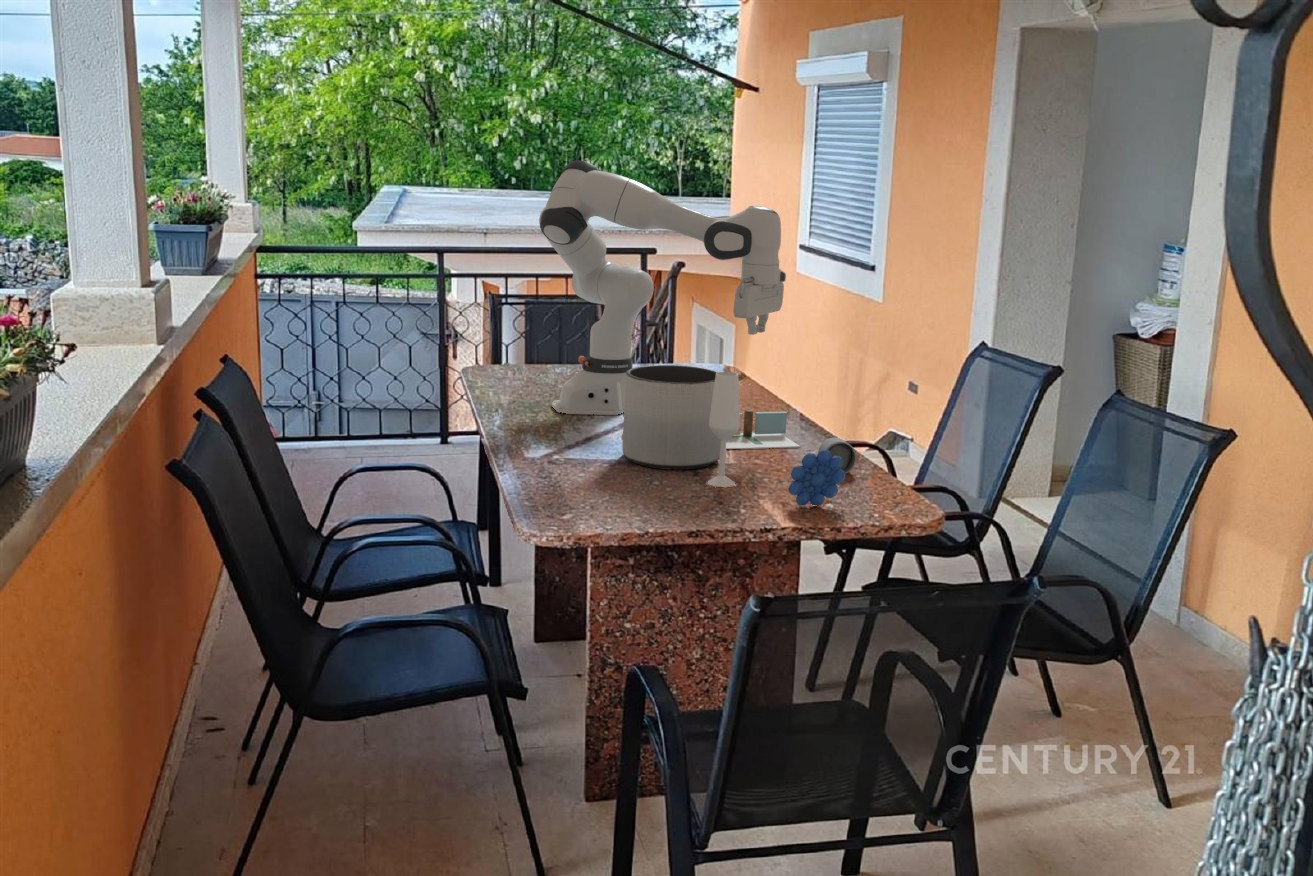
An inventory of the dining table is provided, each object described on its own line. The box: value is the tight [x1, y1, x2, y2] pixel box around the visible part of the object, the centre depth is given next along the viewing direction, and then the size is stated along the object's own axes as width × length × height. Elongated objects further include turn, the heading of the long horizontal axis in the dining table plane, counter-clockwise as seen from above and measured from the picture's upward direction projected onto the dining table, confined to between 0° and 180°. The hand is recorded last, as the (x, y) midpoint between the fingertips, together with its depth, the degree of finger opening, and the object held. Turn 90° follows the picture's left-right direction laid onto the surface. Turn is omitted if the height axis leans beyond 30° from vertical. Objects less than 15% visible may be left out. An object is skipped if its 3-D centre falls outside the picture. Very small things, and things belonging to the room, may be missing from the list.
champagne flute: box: [707, 371, 741, 486], centre depth 260 cm, size 7×7×24 cm
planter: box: [621, 364, 721, 470], centre depth 280 cm, size 23×23×20 cm
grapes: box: [788, 450, 846, 507], centre depth 248 cm, size 12×7×12 cm, turn 99°
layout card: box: [726, 432, 801, 450], centre depth 301 cm, size 21×15×1 cm
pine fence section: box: [734, 409, 754, 437], centre depth 303 cm, size 13×2×7 cm, turn 105°
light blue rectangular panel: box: [754, 411, 788, 435], centre depth 306 cm, size 8×1×5 cm, turn 105°
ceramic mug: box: [816, 437, 857, 475], centre depth 276 cm, size 11×8×8 cm
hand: (756, 333), depth 294 cm, fingers open, 3 cm apart
